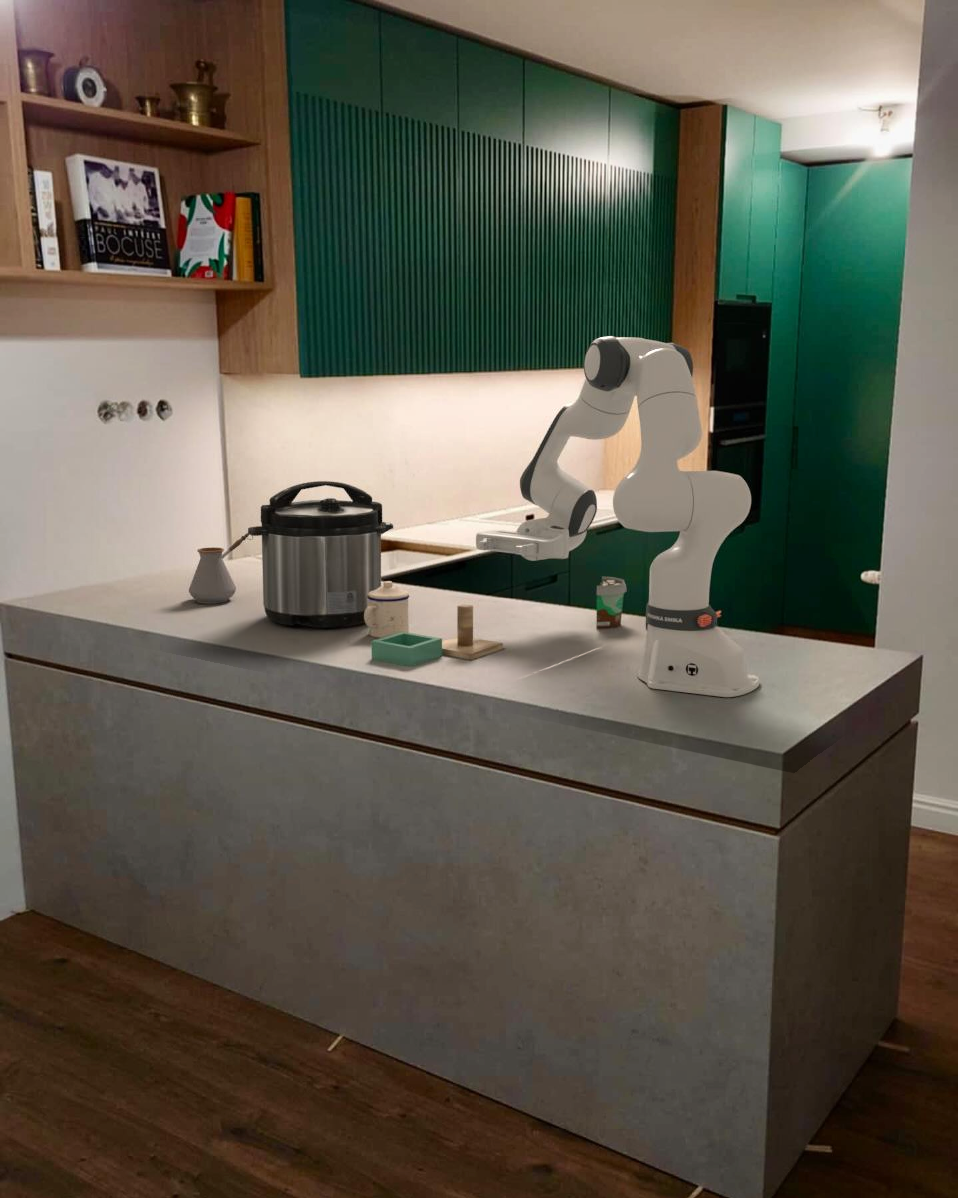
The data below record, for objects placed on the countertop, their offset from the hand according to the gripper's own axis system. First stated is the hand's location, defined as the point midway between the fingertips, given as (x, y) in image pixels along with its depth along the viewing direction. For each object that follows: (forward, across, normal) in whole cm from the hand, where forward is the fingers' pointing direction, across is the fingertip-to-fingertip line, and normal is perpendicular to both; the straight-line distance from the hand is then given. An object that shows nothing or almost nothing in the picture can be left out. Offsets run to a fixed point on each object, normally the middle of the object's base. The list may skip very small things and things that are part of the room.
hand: (499, 548), depth 249 cm
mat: (+12, 0, +20) cm, 23 cm away
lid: (+12, 0, +20) cm, 23 cm away
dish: (+24, -6, +20) cm, 32 cm away
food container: (-27, +12, +20) cm, 36 cm away
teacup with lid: (+11, -23, +20) cm, 32 cm away
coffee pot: (+2, -82, +20) cm, 84 cm away
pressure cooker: (+6, -46, +20) cm, 51 cm away
